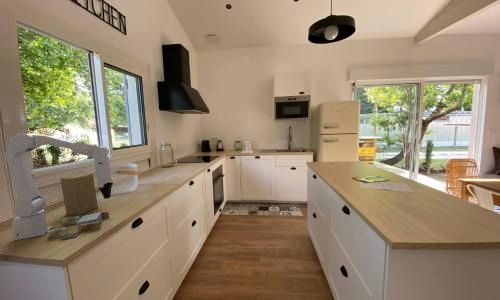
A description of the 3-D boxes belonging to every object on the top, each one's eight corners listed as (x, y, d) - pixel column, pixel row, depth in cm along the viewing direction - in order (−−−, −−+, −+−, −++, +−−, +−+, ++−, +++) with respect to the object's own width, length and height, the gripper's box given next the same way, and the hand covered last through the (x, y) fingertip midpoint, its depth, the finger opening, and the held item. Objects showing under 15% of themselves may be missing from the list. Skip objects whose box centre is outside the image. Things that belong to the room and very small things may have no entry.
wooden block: (80, 214, 105) (74, 178, 103) (65, 214, 107) (59, 178, 105) (98, 207, 115) (93, 173, 113) (84, 206, 117) (79, 173, 115)
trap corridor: (41, 244, 78) (40, 237, 78) (69, 220, 99) (68, 215, 98) (96, 233, 85) (95, 226, 84) (111, 213, 105) (110, 207, 105)
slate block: (78, 231, 88) (76, 222, 87) (84, 223, 95) (83, 215, 95) (97, 227, 91) (96, 218, 90) (102, 220, 98) (101, 212, 97)
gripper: (108, 172, 91) (112, 201, 92) (116, 167, 104) (120, 192, 106) (89, 175, 88) (94, 204, 90) (100, 169, 102) (104, 194, 103)
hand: (107, 198), depth 98 cm, fingers closed
